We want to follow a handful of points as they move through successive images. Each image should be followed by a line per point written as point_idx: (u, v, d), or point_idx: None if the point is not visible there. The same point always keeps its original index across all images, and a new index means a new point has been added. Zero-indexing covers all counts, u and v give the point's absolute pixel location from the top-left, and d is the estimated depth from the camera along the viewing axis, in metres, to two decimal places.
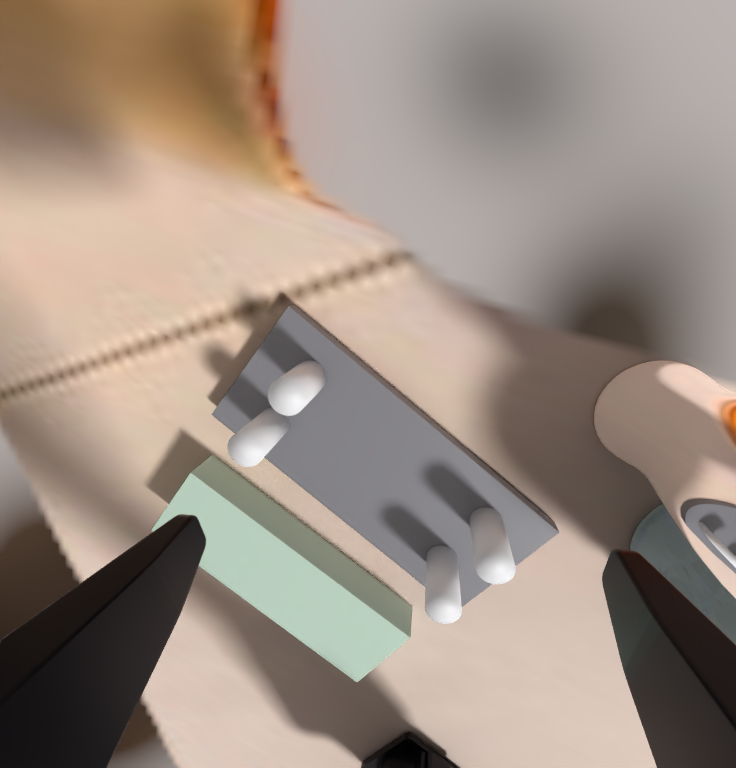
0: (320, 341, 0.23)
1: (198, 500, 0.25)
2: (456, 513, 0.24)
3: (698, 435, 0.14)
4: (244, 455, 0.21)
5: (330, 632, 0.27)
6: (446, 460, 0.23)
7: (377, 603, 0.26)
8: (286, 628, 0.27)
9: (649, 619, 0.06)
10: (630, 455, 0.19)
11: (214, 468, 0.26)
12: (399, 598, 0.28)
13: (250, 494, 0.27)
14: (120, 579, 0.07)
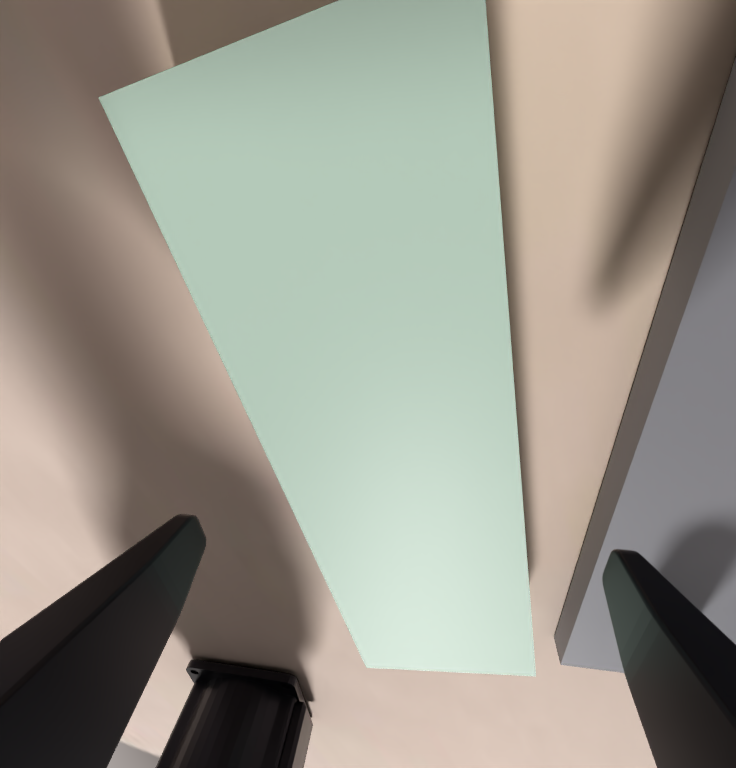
0: None
1: (393, 118, 0.06)
2: None
3: None
4: None
5: (404, 606, 0.12)
6: None
7: None
8: (319, 558, 0.12)
9: (649, 619, 0.06)
10: None
11: None
12: None
13: None
14: (120, 579, 0.07)
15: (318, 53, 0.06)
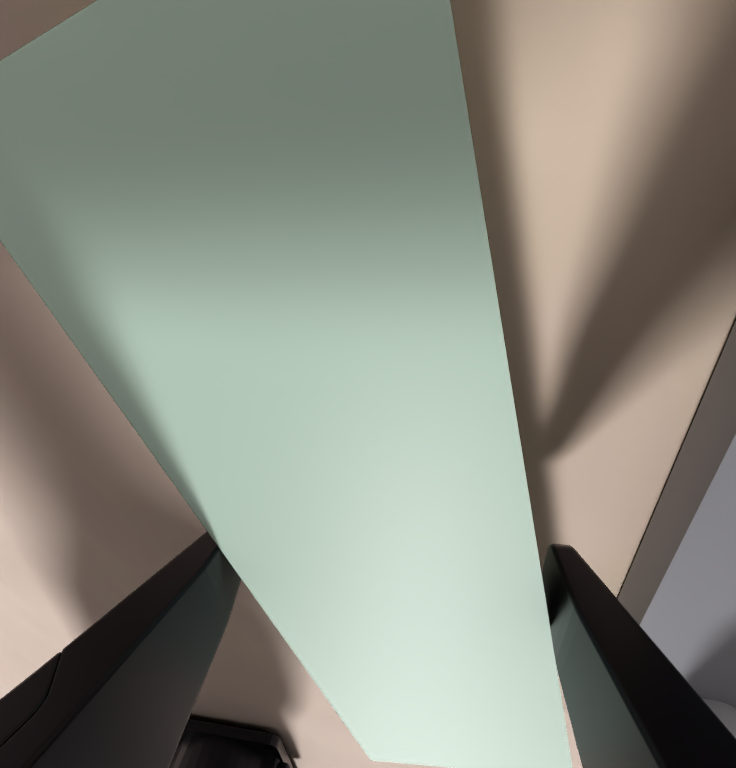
0: None
1: (313, 112, 0.04)
2: None
3: None
4: None
5: (407, 704, 0.10)
6: None
7: None
8: (299, 653, 0.10)
9: (572, 611, 0.06)
10: None
11: None
12: None
13: None
14: (176, 585, 0.07)
15: (190, 22, 0.04)
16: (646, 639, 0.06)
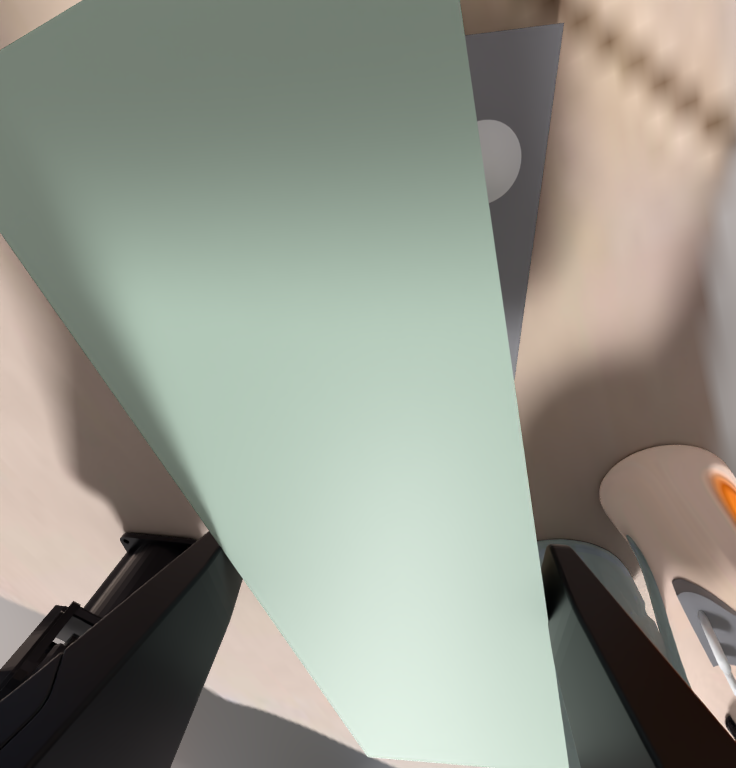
0: (536, 130, 0.13)
1: (321, 106, 0.04)
2: None
3: None
4: None
5: (404, 701, 0.10)
6: None
7: None
8: (297, 650, 0.10)
9: (570, 610, 0.06)
10: (646, 519, 0.18)
11: None
12: None
13: None
14: (178, 586, 0.07)
15: (196, 12, 0.04)
16: (643, 638, 0.06)
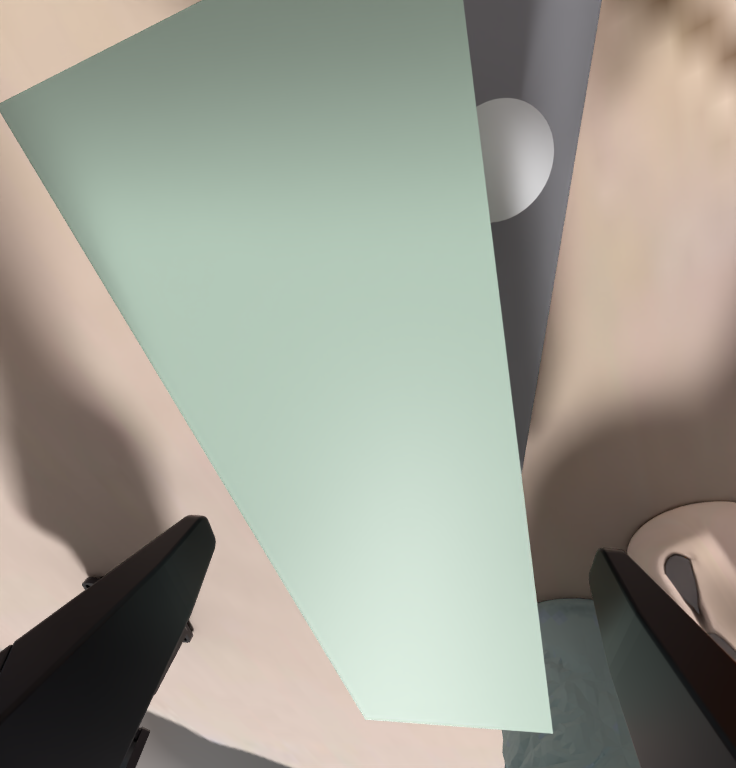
0: (564, 119, 0.10)
1: (349, 116, 0.05)
2: None
3: None
4: None
5: (401, 661, 0.11)
6: None
7: None
8: (304, 611, 0.10)
9: (632, 617, 0.06)
10: (691, 598, 0.15)
11: None
12: None
13: None
14: (132, 580, 0.07)
15: (250, 37, 0.04)
16: (715, 647, 0.06)
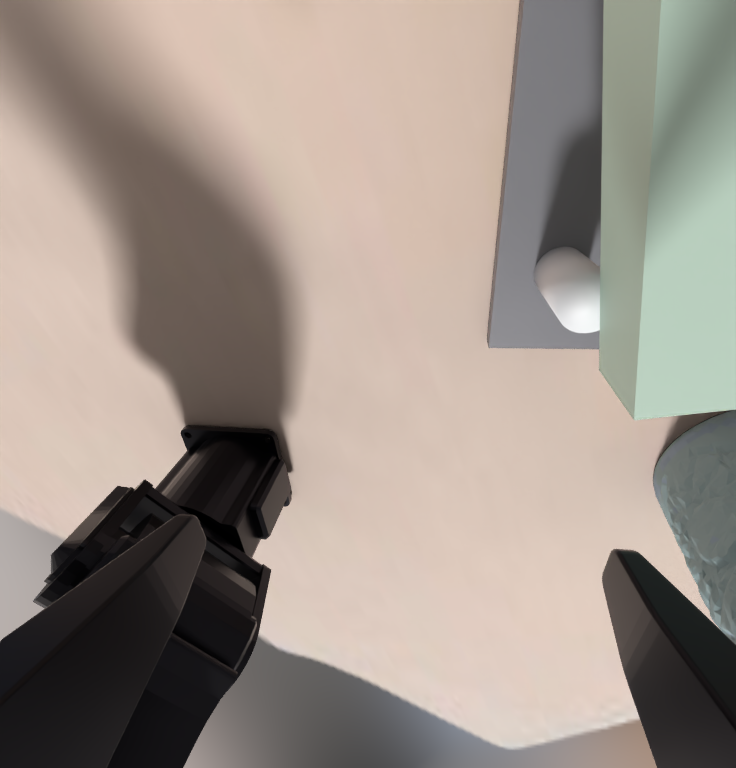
0: None
1: None
2: None
3: None
4: None
5: None
6: None
7: None
8: (656, 176, 0.08)
9: (649, 619, 0.06)
10: None
11: None
12: None
13: None
14: (120, 579, 0.07)
15: None
16: (735, 649, 0.06)
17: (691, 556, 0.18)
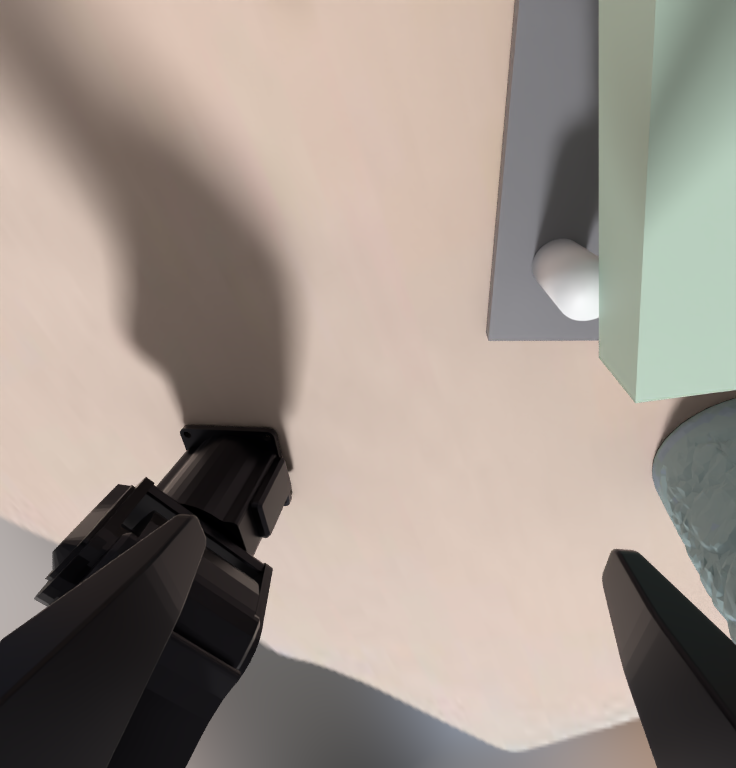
0: None
1: None
2: None
3: None
4: None
5: None
6: None
7: None
8: (654, 158, 0.08)
9: (649, 619, 0.06)
10: None
11: None
12: None
13: None
14: (120, 579, 0.07)
15: None
16: (735, 649, 0.06)
17: (692, 545, 0.18)
